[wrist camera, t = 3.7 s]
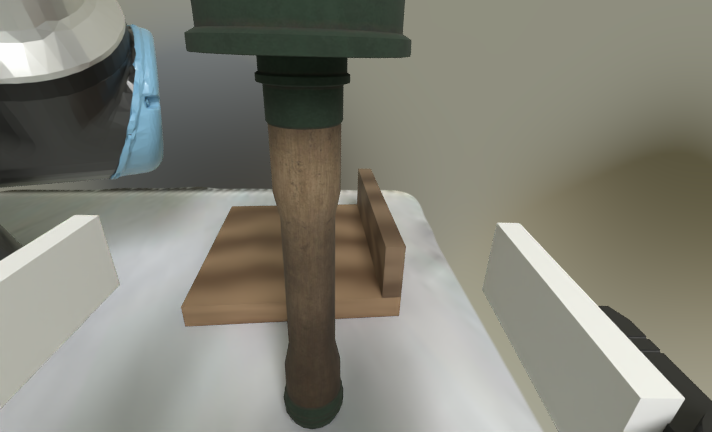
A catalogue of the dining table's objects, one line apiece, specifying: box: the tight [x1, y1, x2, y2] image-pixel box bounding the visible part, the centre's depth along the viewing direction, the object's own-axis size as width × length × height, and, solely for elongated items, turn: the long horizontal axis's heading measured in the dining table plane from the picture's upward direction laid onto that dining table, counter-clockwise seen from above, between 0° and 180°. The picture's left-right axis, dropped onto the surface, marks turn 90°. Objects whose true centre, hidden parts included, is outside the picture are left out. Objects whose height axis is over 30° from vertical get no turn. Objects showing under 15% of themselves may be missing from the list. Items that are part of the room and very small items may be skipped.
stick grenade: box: [185, 0, 411, 429], centre depth 17 cm, size 8×9×30 cm
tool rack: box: [181, 169, 406, 326], centre depth 38 cm, size 20×18×7 cm
